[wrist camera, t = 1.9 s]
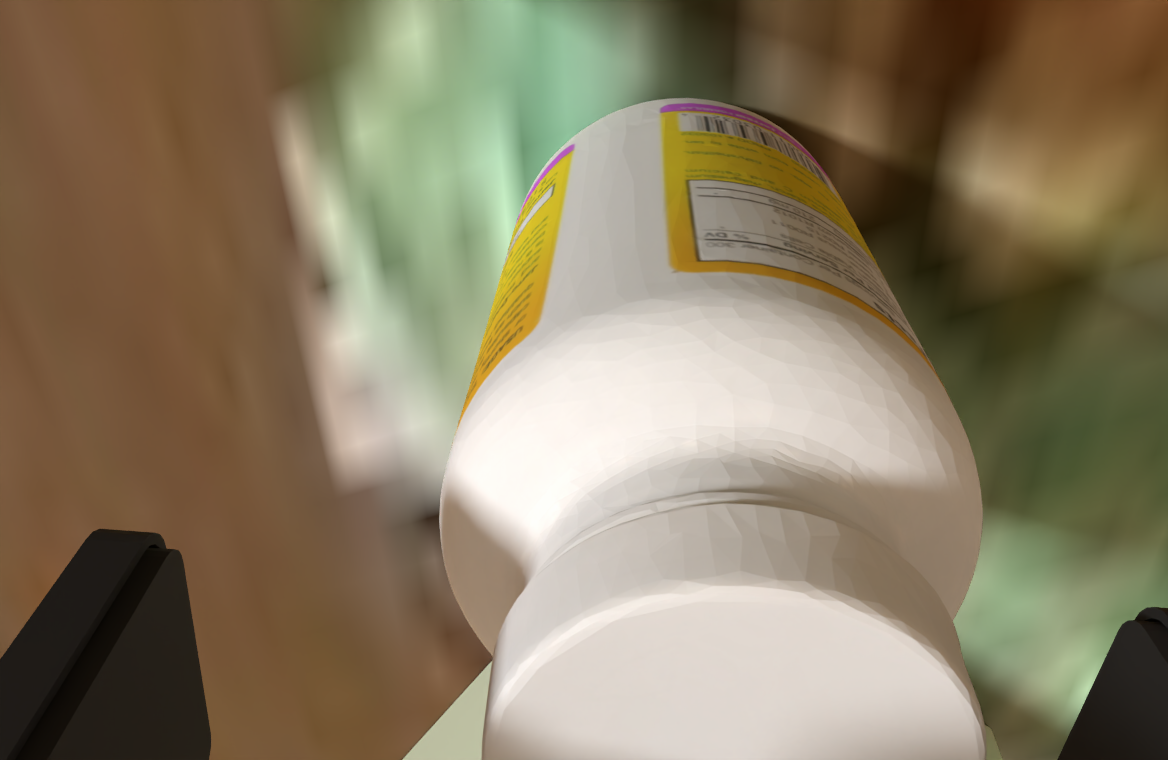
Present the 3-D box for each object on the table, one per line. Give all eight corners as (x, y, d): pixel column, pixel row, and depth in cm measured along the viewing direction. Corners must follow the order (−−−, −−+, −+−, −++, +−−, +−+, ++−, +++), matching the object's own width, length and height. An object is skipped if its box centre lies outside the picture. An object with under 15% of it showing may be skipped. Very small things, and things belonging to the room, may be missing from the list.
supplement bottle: (579, 424, 22) (516, 1023, 11) (466, 152, 20) (231, 600, 8) (874, 344, 21) (1135, 935, 10) (802, 38, 18) (1057, 391, 7)
